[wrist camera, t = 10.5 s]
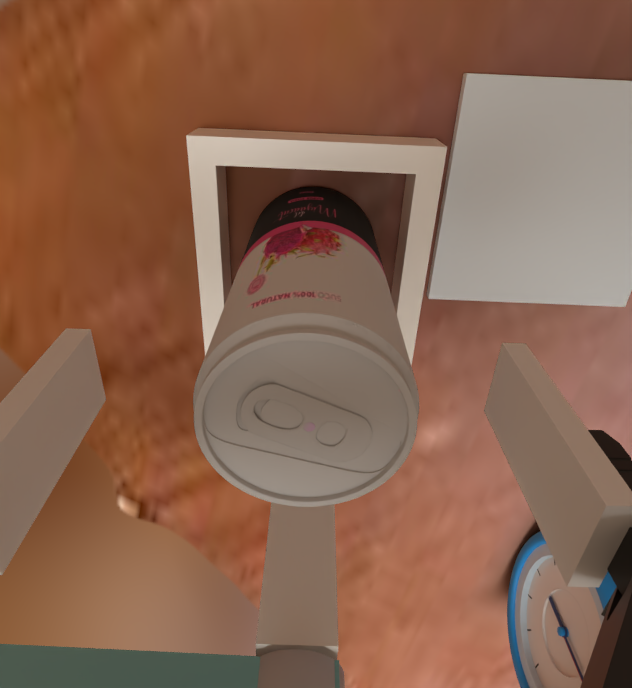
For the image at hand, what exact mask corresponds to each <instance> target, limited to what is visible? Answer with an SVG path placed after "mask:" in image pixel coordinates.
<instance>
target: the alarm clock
mask: <svg viewBox="0 0 632 688" xmlns="http://www.w3.org/2000/svg"><path fill="white" fill-rule="evenodd" d="M616 587H617V586H616V584H615V583H614V581H613V579H612V577H611V575H610V574H609V572H607V574H606V575H605V577H604V579H603V581H602V583H601V585H600V586H599V587H567V586H566V584H565V581H564V579H563V577H562V575H561V573H560V571H559V569H558V567H557V565H556V562H555V560H554V558H553V556H552V554H551V552H550V550H549V548H548V545H547V543H546V541H545V539H544V537H543V535H542V533H541V531H539V532H538V533H536V534H535V535H533V536H532V537H531V538H530V539H529V540H528V541H527V542H526V543H525V544H524V546H523V547H522V549H521V551H520V553H519V555H518V557H517V559H516V562H515V565H514V567H513V571H512V574H511V579H510V584H509V591H508V604H507V621H508V634H509V643H510V649H511V654H512V659H513V663H514V668H515V671H516V675H517V678H518V681H519V684H520V687H521V688H580V687H581V684H582V681H583V678H584V675H585V672H586V669H587V666H588V663H589V660H590V657H591V655H592V652H593V649H594V646H595V643H596V640H597V637H598V634H599V631H600V628H601V625H602V623H603V620H604V616H602V615H601V613H602V612H603V610H604V608H605V606H606V605H607V603H608V601H609V599H610V598H611V596H612V594H613V592H614V591H615V589H616Z"/></svg>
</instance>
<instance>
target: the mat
mask: <svg viewBox="0 0 632 688" xmlns="http://www.w3.org/2000/svg"><path fill="white" fill-rule="evenodd" d="M631 291H632V81H628V80H606V79H584V78H563V77H541V76H519V75H498V74H476V73H464V74H463V80H462V86H461V92H460V98H459V103H458V109H457V115H456V121H455V127H454V133H453V139H452V145H451V151H450V157H449V163H448V169H447V175H446V181H445V187H444V193H443V199H442V205H441V211H440V217H439V223H438V229H437V235H436V241H435V246H434V252H433V258H432V264H431V270H430V276H429V282H428V288H427V297H428V299H444V300H468V301H493V302H517V303H542V304H566V305H591V306H615V307H625V306H626V303H627V301H628V298H629V296H630V293H631Z"/></svg>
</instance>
